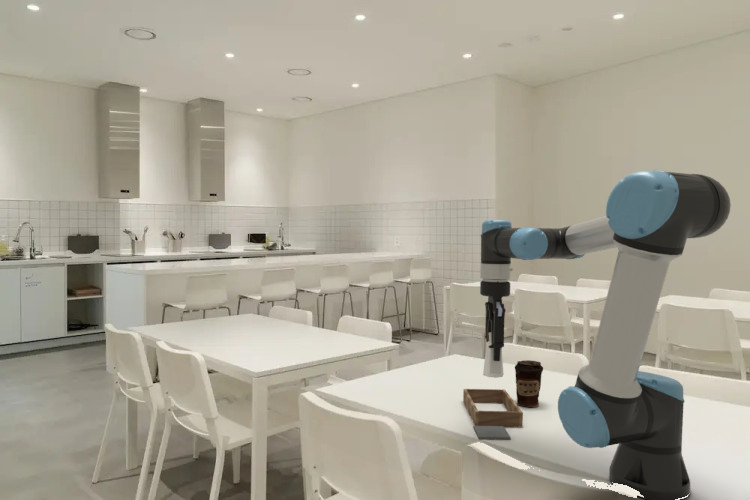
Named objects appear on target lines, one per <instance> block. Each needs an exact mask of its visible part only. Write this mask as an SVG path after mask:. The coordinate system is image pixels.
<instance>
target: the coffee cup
mask: <svg viewBox="0 0 750 500" xmlns="http://www.w3.org/2000/svg"><path fill="white" fill-rule="evenodd" d="M514 371H515V386H516V387H515V389H516V391H515V392H516V393H515V394H516V404H517V406H521V407H526V408H534V407H535V408H537V407H539V403H540V402H539V397H540V391H541V386H542V373H543V371H544V367H543V365H542V364H541V362H540V361H536V360H528V359H527V360H520V361H517V363H516V364H515V366H514Z"/></svg>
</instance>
